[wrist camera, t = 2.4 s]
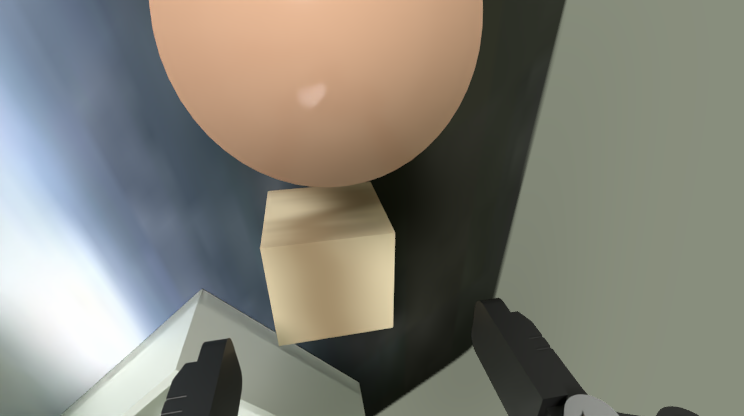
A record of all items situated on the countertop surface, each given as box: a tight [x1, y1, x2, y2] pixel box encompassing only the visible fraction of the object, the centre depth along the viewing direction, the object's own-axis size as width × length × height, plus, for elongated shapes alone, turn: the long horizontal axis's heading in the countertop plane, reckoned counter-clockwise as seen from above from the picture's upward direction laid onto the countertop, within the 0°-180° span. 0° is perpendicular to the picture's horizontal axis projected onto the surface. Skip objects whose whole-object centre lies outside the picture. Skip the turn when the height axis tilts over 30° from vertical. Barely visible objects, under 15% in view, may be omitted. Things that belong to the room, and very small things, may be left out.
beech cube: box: [260, 182, 395, 346], centre depth 17 cm, size 5×5×5 cm
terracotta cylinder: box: [149, 0, 483, 187], centre depth 10 cm, size 5×5×10 cm
